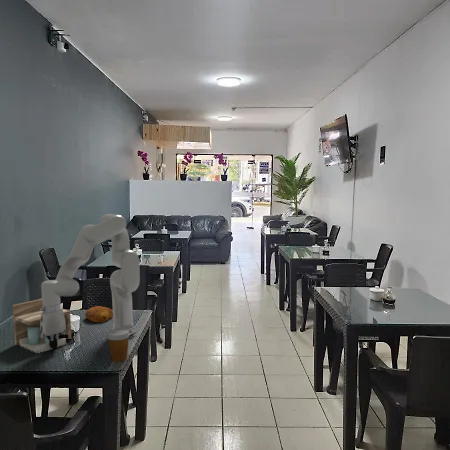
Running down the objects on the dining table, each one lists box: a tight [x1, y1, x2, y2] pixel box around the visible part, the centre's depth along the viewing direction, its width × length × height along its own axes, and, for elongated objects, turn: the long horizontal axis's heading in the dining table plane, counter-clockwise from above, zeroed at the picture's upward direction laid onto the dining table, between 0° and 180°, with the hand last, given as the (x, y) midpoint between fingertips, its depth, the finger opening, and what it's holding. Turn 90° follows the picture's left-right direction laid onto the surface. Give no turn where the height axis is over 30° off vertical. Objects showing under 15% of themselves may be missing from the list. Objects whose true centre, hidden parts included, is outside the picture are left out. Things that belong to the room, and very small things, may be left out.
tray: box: [19, 326, 67, 354], centre depth 199 cm, size 16×14×8 cm
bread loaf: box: [84, 305, 113, 323], centre depth 238 cm, size 14×16×8 cm
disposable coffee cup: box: [106, 328, 131, 363], centre depth 181 cm, size 10×10×12 cm
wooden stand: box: [12, 298, 72, 346], centre depth 202 cm, size 15×20×19 cm
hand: (53, 347), depth 193 cm, fingers closed
